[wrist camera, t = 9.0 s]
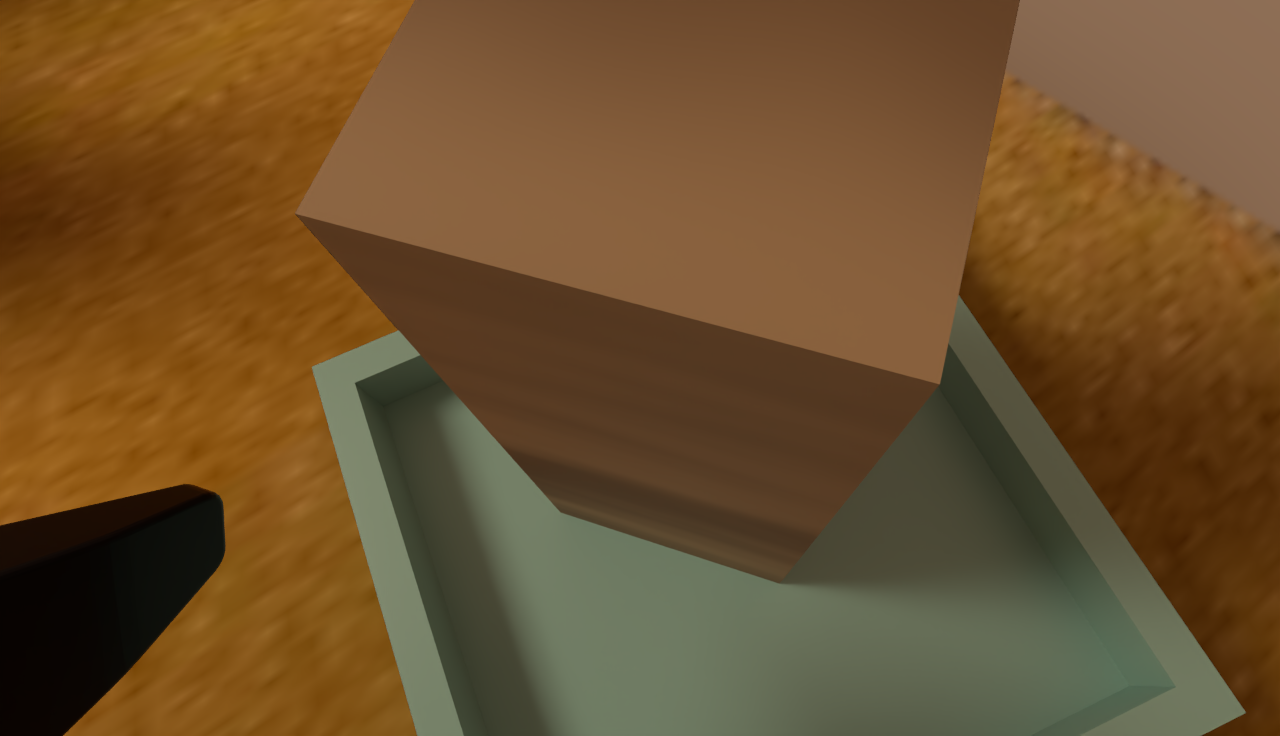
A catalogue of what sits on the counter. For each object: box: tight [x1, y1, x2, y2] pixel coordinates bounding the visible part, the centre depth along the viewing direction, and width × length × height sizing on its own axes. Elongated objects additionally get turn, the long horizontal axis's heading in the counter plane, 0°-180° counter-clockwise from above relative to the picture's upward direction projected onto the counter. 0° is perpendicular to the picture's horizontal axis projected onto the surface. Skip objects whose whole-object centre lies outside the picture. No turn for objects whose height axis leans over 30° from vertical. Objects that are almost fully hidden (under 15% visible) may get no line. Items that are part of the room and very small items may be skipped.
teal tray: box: [312, 295, 1246, 736], centre depth 16 cm, size 14×14×2 cm
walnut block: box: [295, 0, 1020, 584], centre depth 12 cm, size 5×5×12 cm
